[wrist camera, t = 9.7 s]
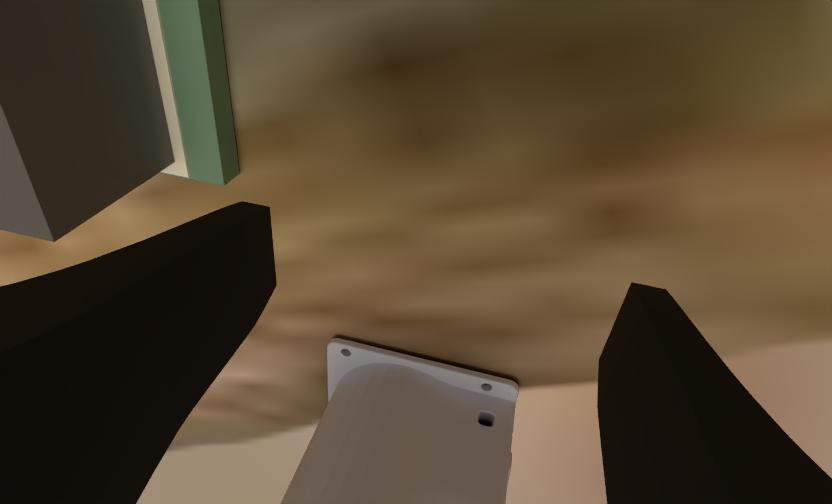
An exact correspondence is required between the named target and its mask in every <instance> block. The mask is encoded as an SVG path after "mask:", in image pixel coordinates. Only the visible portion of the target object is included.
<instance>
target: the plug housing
mask: <svg viewBox="0 0 832 504" xmlns="http://www.w3.org/2000/svg"><path fill="white" fill-rule="evenodd" d="M174 162H175V159H174V154H173V149H172V144H171V139H170V135H169V130H168V125H167V120H166V115H165V110H164V105H163V100H162V95H161V90H160V86H159V81H158V76H157V71H156V66H155V61H154V56H153V51H152V46H151V41H150V36H149V32H148V27H147V22H146V17H145V12H144V7H143V2H142V0H0V230H4V231H9V232H13V233H17V234H22V235H26V236H30V237H35V238H39V239H44V240H48V241H52V242H55V241H57V240H58V239H60V238H61V237H63V236H64V235H66V234H67V233H69V232H70V231H72V230H73V229H75V228H76V227H78V226H79V225H81V224H82V223H84V222H85V221H87V220H88V219H90V218H91V217H93V216H94V215H96V214H97V213H99V212H100V211H102V210H103V209H105V208H106V207H108V206H109V205H111V204H112V203H114V202H115V201H117V200H118V199H120V198H121V197H123V196H124V195H126V194H127V193H129V192H130V191H132V190H133V189H135V188H136V187H138V186H140V185H141V184H143V183H144V182H146V181H147V180H149V179H150V178H152V177H153V176H155V175H156V174H158V173H159V172H161V171H162V170H164V169H165V168H167V167H168V166H170V165H171V164H173V163H174Z"/></svg>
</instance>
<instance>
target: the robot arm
mask: <svg viewBox="0 0 832 504" xmlns="http://www.w3.org/2000/svg"><path fill="white" fill-rule="evenodd" d="M276 285H277V284H276V272H275V261H274V250H273V239H272V228H271V216H270V207H267V206H262V205H258V204H253V203H248V202H243V201H242V202H239V203H236V204H232V205H229V206H227V207H224V208H221V209H219V210H216V211H214V212H211V213H209V214H206V215H204V216H201V217H199V218H196V219H194V220H192V221H189V222H187V223H184V224H182V225H180V226H177V227H175V228H172V229H170V230H167V231H165V232H162V233H160V234H158V235H155V236H153V237H150V238H148V239H145V240H143V241H140V242H137V243H135V244H132V245H129V246H127V247H124V248H121V249H119V250H116V251H113V252H111V253H108V254H105V255H102V256H100V257H97V258H94V259H92V260H89V261H86V262H83V263H80V264H77V265H74V266H71V267H68V268H65V269H62V270H58V271H55V272H52V273H48V274H45V275H41V276H38V277H34V278H31V279H28V280H24V281H21V282H17V283H13V284H9V285H5V286H1V287H0V504H136V503H137V501H138V499H139V497H140V496H141V494H142V492H143V490H144V489H145V487H146V485H147V483H148V481H149V479H150V478H151V476H152V474H153V472H154V471H155V469H156V467H157V466H158V464H159V462H160V461H161V459H162V457H163V456H164V454H165V452H166V451H167V449H168V447H169V446H170V444H171V442H172V440H173V439H174V437H175V435H176V434H177V432H178V430H179V429H180V427H181V426H182V424H183V423H184V421H185V420H186V418H187V417H188V415H189V414H190V413H191V411H192V410H193V408H194V407H195V405H196V404H197V403H198V401H199V400H200V399H201V397H202V396H203V395H204V393H205V392H206V391H207V389H208V388H209V387H210V385H211V384H212V383H213V381H214V380H215V379H216V377H217V376H218V375H219V373H220V372H221V371H222V369H223V368H224V367H225V365H226V364H227V363H228V361H229V360H230V359H231V357H232V356H233V354H234V353H235V352H236V350H237V349H238V348H239V346H240V345H241V344H242V342H243V341H244V339H245V338H246V337H247V335H248V334H249V333H250V331H251V330H252V328H253V327H254V326H255V324H256V322H257V321H258V319H259V317H260V315H261V314H262V312H263V310H264V308H265V306H266V305H267V303H268V301H269V299H270V297H271V295H272V293H273V291H274V289H275V287H276ZM346 349H347V350H346ZM348 350H349V351H348ZM327 372H328V405H327V407H326V409H325V411H324V414H323V416H322V418H321V420H320V422H319V424H318V426H317V428H316V430H315V433H314V435H313V437H312V439H311V441H310V443H309V445H308V447H307V449H306V451H305V454H304V456H303V458H302V460H301V462H300V464H299V466H298V468H297V470H296V472H295V474H294V477H293V479H292V481H291V483H290V485H289V487H288V489H287V491H286V493H285V495H284V498H283V500H282V502H281V504H505V500H506V491H507V484H508V480H509V474H510V469H511V461H512V454H511V442H512V432H513V422H514V413H515V403H516V400H517V397H518V392H519V386H518V384H517V383H516V382H514V381H512V380H509V379H505V378H501V377H497V376H492V375H488V374H484V373H480V372H476V371H472V370H468V369H464V368H459V367H455V366H451V365H447V364H443V363H439V362H435V361H431V360H426V359H422V358H418V357H414V356H410V355H406V354H402V353H398V352H393V351H389V350H385V349H381V348H377V347H373V346H369V345H365V344H361V343H356V342H352V341H348V340H344V339H340V338H333V339H331V340H330V341H329V343H328V346H327ZM484 383H486V384H489V385H486V384H484ZM598 418H599V429H600V439H601V448H602V458H603V467H604V477H605V486H606V495H607V504H832V478H830V477H829V476H828V475H827V474H826V473H825V472H824V471H823V470H822V469H821V468H820V467H819V466H818V465H817V464H816V463H815V462H814V461H813V460H812V459H811V458H810V457H809V456H808V455H807V454H806V453H804V451H803V450H802V449H801V448H800V447H799V446H798V445H797V444H796V443H795V442H794V441H793V440H792V439H791V438H790V437H789V436H788V435H787V434H786V433H785V432H784V431H783V430H782V429H781V427H780V426H779V425H778V424H777V423H776V422H775V421H774V420H773V419H772V418H771V416H770V415H769V414H768V413H767V412H766V411H765V410H764V409H763V408H762V407H761V405H760V404H759V403H758V402H757V401H756V400H755V399H754V398H753V397H752V395H751V394H750V393H749V392H748V391H747V390H746V388H745V387H744V386H743V385H742V384H741V383H740V381H739V380H738V379H737V378H736V377H735V376H734V374H733V373H732V372H731V371H730V369H728V367H727V366H726V365H725V363H724V362H723V361H722V360H721V358H720V357H719V356H718V355H717V353H716V352H715V351H714V350H713V348H712V347H711V346H710V345H709V343H708V342H707V341H706V340H705V338H704V337H703V336H702V334H701V333H700V332H699V331H698V329H697V328H696V327H695V325H694V324H693V323H692V322H691V320H690V319H689V318H688V316H687V315H686V314H685V312H684V311H683V310H682V309H681V307H680V306H679V305H678V304H677V302H676V301H675V300H674V299H673V297H672V296H671V295H670V294H669V293H668V291H667V290H666V289H661V288H656V287H651V286H647V285H642V284H637V283H632V282H631V285H630V287H629V290H628V292H627V294H626V297H625V299H624V301H623V304H622V306H621V309H620V311H619V313H618V316H617V318H616V320H615V323H614V325H613V328H612V330H611V332H610V335H609V337H608V339H607V342H606V344H605V347H604V349H603V351H602V354H601V356H600V358H599V372H598Z"/></svg>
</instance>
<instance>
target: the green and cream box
mask: <svg viewBox="0 0 832 504" xmlns="http://www.w3.org/2000/svg"><path fill="white" fill-rule="evenodd" d="M142 2H143V7H144V12H145V17H146V22H147V27H148V32H149V36H150V41H151V46H152V51H153V56H154V61H155V66H156V71H157V76H158V81H159V86H160V90H161V95H162V100H163V105H164V110H165V115H166V120H167V125H168V130H169V135H170V139H171V144H172V149H173V154H174V159H175V162H174V163H173V164H171V165H170V166H168V167H167V168H165V169H164V170H162V171H161V172H159V173H164V174H169V175H174V176H179V177H183V178H188V179H193V180H198V181H203V182H208V183H213V184H218V185H222V186H225V185H226V184H227V183H228V182H229V181H231V180H232V179H233V178H234V177H236V176H237V175H238V174H239V165H238V157H237V149H236V141H235V132H234V124H233V116H232V108H231V100H230V92H229V84H228V75H227V67H226V59H225V51H224V43H223V35H222V27H221V19H220V10H219V2H218V0H142Z"/></svg>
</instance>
